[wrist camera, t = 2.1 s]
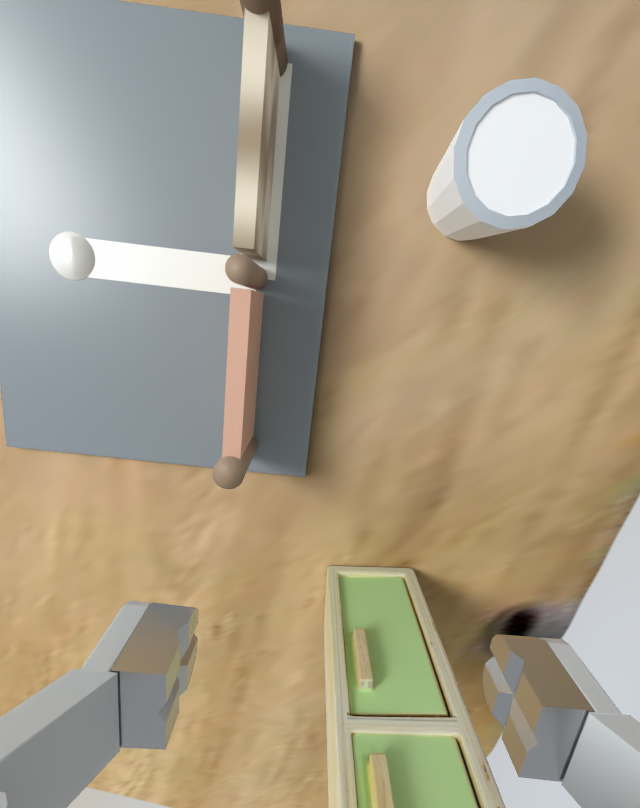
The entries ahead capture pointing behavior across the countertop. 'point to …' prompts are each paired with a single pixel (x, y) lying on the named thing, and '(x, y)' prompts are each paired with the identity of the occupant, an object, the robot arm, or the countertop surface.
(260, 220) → the fixed fence panel
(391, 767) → the toy refrigerator
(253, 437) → the hinged fence panel
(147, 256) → the card
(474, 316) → the countertop surface
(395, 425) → the countertop surface
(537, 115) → the white cup
